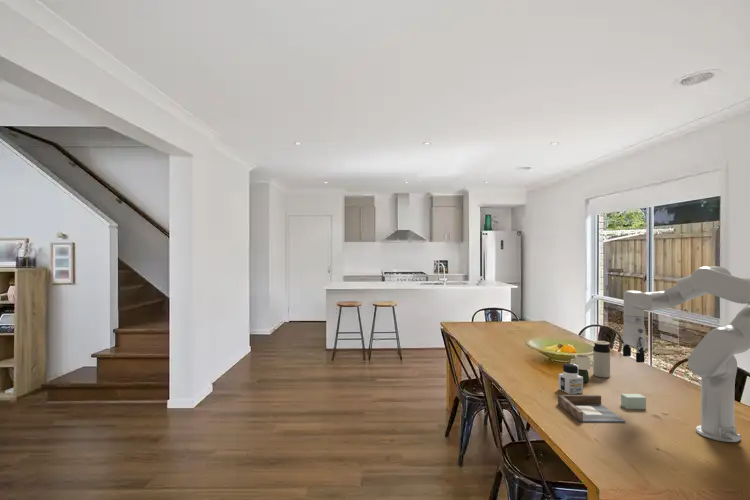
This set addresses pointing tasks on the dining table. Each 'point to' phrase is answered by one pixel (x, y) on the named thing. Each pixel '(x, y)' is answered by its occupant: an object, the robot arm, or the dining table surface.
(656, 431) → the dining table surface
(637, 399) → the sage block
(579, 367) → the character mug
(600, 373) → the travel mug
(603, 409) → the shallow tray
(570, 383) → the container
